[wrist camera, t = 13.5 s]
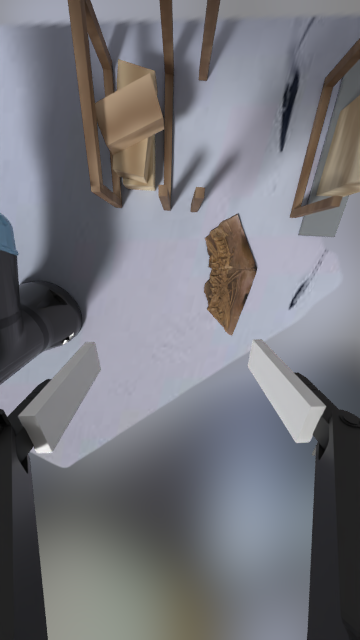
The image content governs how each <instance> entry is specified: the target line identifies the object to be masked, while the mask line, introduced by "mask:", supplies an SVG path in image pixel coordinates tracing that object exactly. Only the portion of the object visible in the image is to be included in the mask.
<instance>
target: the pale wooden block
mask: <svg viewBox="0 0 360 640" xmlns="http://www.w3.org/2000/svg"><path fill="white" fill-rule="evenodd" d="M357 192H360V95H359V96H358V97H357V98H356V99H354V100H353V101H352V102H351V103H350V104H349V105H347V106H346V107H345V108H344V109H343V110H341V111H340V114H339V118H338V121H337V125H336V128H335V132H334V135H333V139H332V142H331V146H330V149H329V153H328V156H327V159H326V163H325V166H324V170H323V173H322V177H321V180H320V184H319V187H318V191H317V194H316V196H343V197H345V196H348V195H351V194H354V193H357Z"/></svg>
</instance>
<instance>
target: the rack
mask: <svg viewBox="0 0 360 640" xmlns="http://www.w3.org/2000/svg"><path fill="white" fill-rule="evenodd" d="M219 5H220V0H207V8H206V17H205V25H204V34H203V42H202V51H201V59H200V68H199V80H203V81H207V76H208V70H209V64H210V58H211V52H212V46H213V40H214V34H215V29H216V23H217V17H218V11H219ZM68 6H69V14H70V22H71V31H72V39H73V47H74V55H75V63H76V71H77V79H78V87H79V95H80V103H81V111H82V119H83V128H84V136H85V144H86V152H87V160H88V168H89V176H90V184H91V192H93V193H94V194H96V195H97V196H99V197H100V198H102V199H103V200H105V201H107V202H108V203H110V204H111V205H113V206H114V207H116V208H122V199H121V185H120V177H119V176H118V175H117V173H116V172H115V171H114V170H113V154H112V153H111V151H110V159H111V171H112V183H113V192H111V191H110V190H109V189H108V188H107V187H106V186H104V185H103V180H102V170H101V160H100V150H99V140H98V130H97V120H96V110H95V100H94V91H93V81H92V71H91V61H90V51H89V41H88V34H89V37H90V39H91V41H92V44H93V46H94V49H95V51H96V53H97V56H98V58H99V61H100V63H101V65H102V68H103V75H104V87H105V97H107V96H109V95H110V94H112V93H114V84H113V69H112V60H111V57H110V54H109V52H108V49H107V46H106V43H105V40H104V37H103V35H102V32H101V29H100V26H99V23H98V20H97V18H96V15H95V12H94V9H93V7H92V4H91V1H90V0H68ZM160 11H161V25H162V38H163V52H164V65H165V138H164V185H159V198H160V201H161V203H162V206H163V209H164V210H168V211H170V208H171V164H172V120H173V76H174V57H173V17H172V0H160ZM359 59H360V38H359V40H358V41H357V42H356V43H355V44H354V45H353V47H352V48H351V49H350V50H349V51H348V52H347V54H346V55H345V56H344V57H343V58H342V59H341V61H340V62H339V63H338V64H337V65H336V66H335V68H334V69H333V70H332V71H331V72H330V73H329V74H328V76H327V77H326V78H325V81H324V85H323V89H322V93H321V97H320V100H319V104H318V108H317V112H316V116H315V120H314V124H313V128H312V132H311V136H310V140H309V144H308V148H307V152H306V155H305V159H304V163H303V167H302V171H301V175H300V179H299V183H298V187H297V191H296V195H295V199H294V203H293V207H292V211H291V214H290V218H297V217H301V216H305V215H309V214H313V213H317V212H320V211H324V210H328V209H332V208H336V207H339V206H340V203H341V200H342V197H343V196H332V197H329V198H326V199H323V200H320V201H317V202H314V203H311V204H308V205H305V206H303V207H301V204H302V200H303V197H304V193H305V189H306V185H307V182H308V178H309V174H310V171H311V167H312V163H313V160H314V156H315V152H316V148H317V145H318V141H319V137H320V134H321V130H322V126H323V123H324V119H325V115H326V111H327V108H328V104H329V100H330V97H331V93H332V89H333V87H334V86H335V85H336V84H337V82H338V81H339V80H340V79H341V78H342V77H343V76H344V75H345V74H346V73H347V72H348V71H349V70H350V69H351V68H352V67H353V66H354V65H355V64H356V63H357V62H358V61H359ZM204 193H205V188H203V187H196V189H195V192H194V196H193V199H192V203H191V212H197V211H198V209H199V207H200V205H201V203H202V201H203V199H204Z"/></svg>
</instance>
